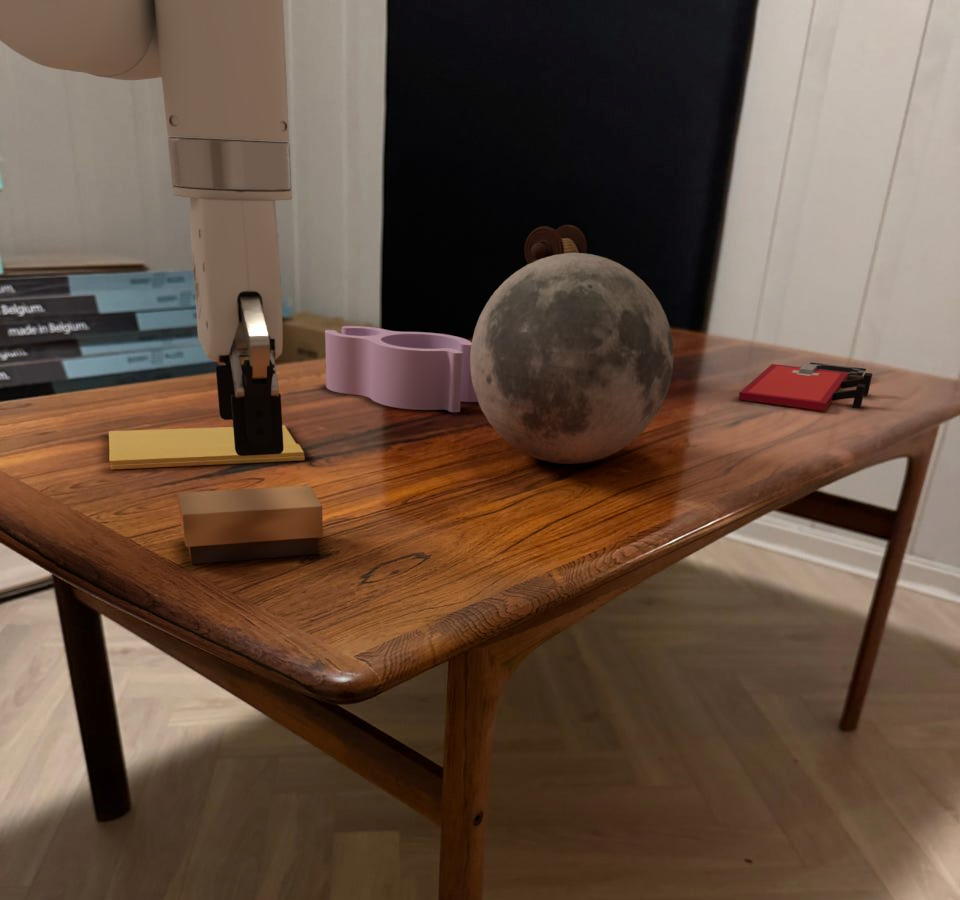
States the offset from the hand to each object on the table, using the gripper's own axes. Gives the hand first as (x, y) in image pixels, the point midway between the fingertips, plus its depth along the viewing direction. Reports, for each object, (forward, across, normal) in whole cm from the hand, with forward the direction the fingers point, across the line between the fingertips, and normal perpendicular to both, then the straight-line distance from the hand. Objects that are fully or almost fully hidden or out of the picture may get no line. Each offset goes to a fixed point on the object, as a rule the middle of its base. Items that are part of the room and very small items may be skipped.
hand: (250, 434), depth 69 cm
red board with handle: (+10, -45, +85) cm, 97 cm away
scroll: (+9, -53, +47) cm, 71 cm away
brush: (+9, 0, 0) cm, 9 cm away
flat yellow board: (+9, -28, -1) cm, 30 cm away
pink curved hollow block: (+9, -48, +25) cm, 55 cm away
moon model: (+9, -18, +34) cm, 39 cm away
